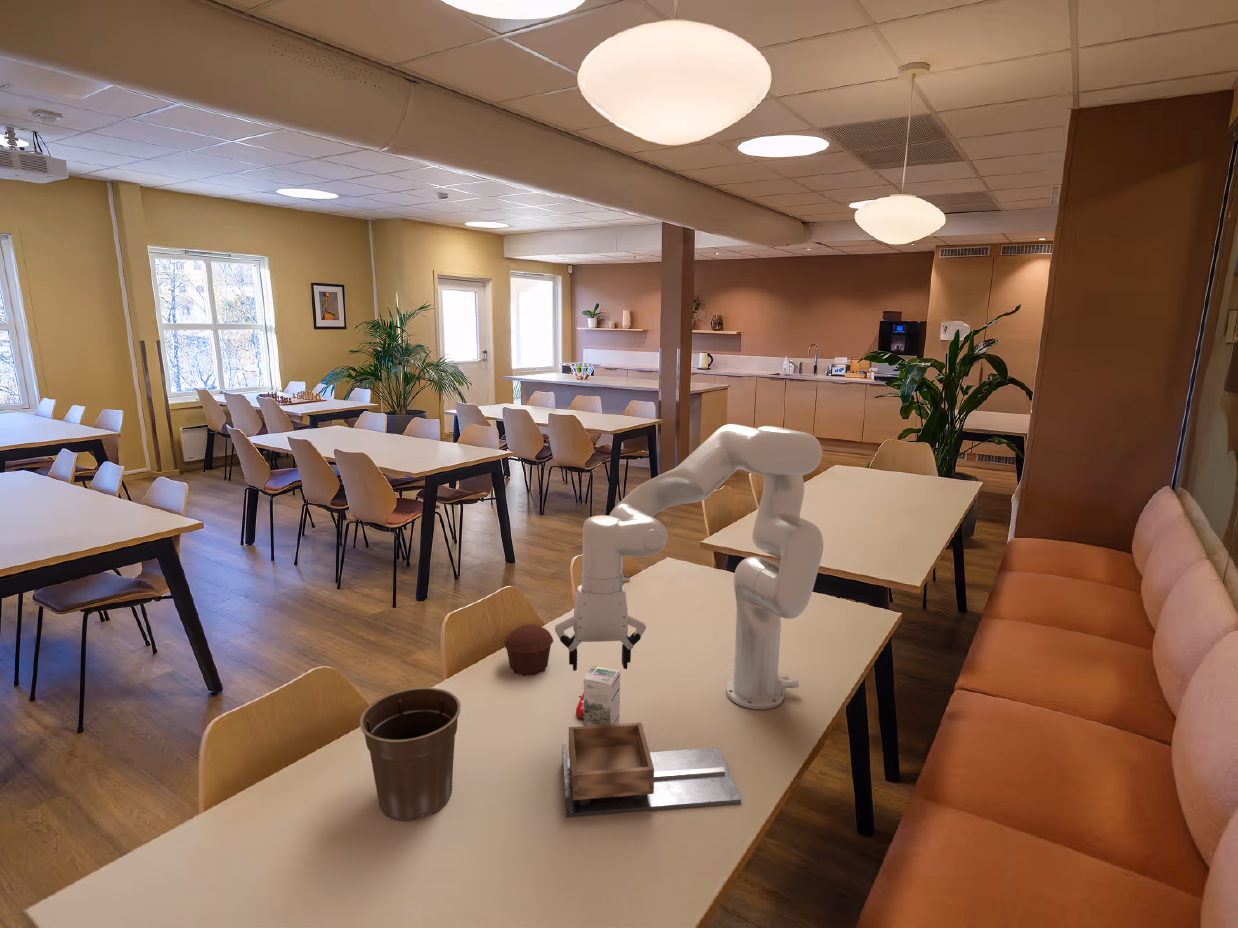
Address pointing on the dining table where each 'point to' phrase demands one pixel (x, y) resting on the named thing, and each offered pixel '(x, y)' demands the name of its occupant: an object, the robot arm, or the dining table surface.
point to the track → (666, 785)
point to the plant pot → (412, 750)
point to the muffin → (528, 649)
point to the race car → (580, 708)
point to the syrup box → (601, 696)
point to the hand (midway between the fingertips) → (599, 666)
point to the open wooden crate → (610, 762)
